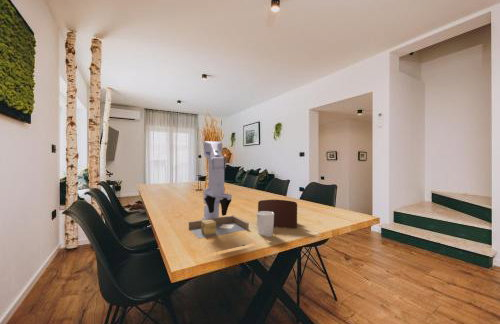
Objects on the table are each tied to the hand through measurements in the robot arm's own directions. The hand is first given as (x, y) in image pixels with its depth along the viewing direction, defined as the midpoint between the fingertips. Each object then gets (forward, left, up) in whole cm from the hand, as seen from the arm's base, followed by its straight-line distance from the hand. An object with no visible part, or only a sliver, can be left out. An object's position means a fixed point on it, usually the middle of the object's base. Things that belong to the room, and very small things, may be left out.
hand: (217, 213), depth 97 cm
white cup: (+11, +19, -10) cm, 24 cm away
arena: (-5, +3, -10) cm, 11 cm away
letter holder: (+1, +33, -10) cm, 35 cm away
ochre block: (-2, -3, -8) cm, 9 cm away
